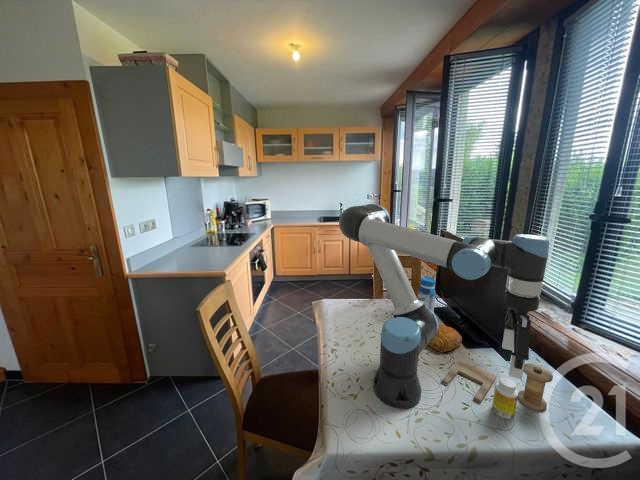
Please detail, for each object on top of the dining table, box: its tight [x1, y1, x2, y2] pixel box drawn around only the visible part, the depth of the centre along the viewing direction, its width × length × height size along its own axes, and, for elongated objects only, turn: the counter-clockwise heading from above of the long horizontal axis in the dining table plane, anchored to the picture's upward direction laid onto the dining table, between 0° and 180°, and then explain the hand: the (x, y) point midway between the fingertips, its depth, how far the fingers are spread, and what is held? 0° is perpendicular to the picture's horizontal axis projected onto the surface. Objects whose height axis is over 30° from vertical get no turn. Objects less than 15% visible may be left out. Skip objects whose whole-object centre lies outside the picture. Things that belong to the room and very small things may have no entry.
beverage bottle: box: [416, 276, 437, 314], centre depth 134 cm, size 8×8×20 cm
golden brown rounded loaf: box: [428, 324, 463, 353], centre depth 113 cm, size 14×16×8 cm
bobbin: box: [517, 362, 554, 412], centre depth 81 cm, size 7×7×12 cm
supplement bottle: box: [491, 377, 519, 420], centre depth 78 cm, size 6×6×10 cm
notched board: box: [441, 359, 497, 404], centre depth 91 cm, size 16×12×1 cm
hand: (510, 361), depth 75 cm, fingers open, 13 cm apart
